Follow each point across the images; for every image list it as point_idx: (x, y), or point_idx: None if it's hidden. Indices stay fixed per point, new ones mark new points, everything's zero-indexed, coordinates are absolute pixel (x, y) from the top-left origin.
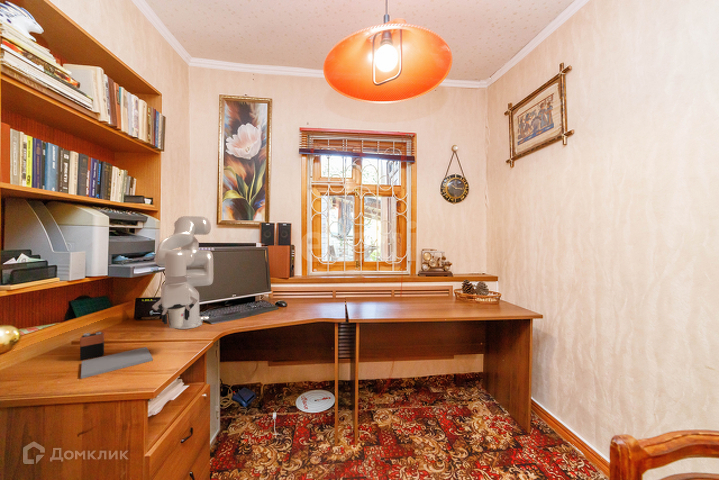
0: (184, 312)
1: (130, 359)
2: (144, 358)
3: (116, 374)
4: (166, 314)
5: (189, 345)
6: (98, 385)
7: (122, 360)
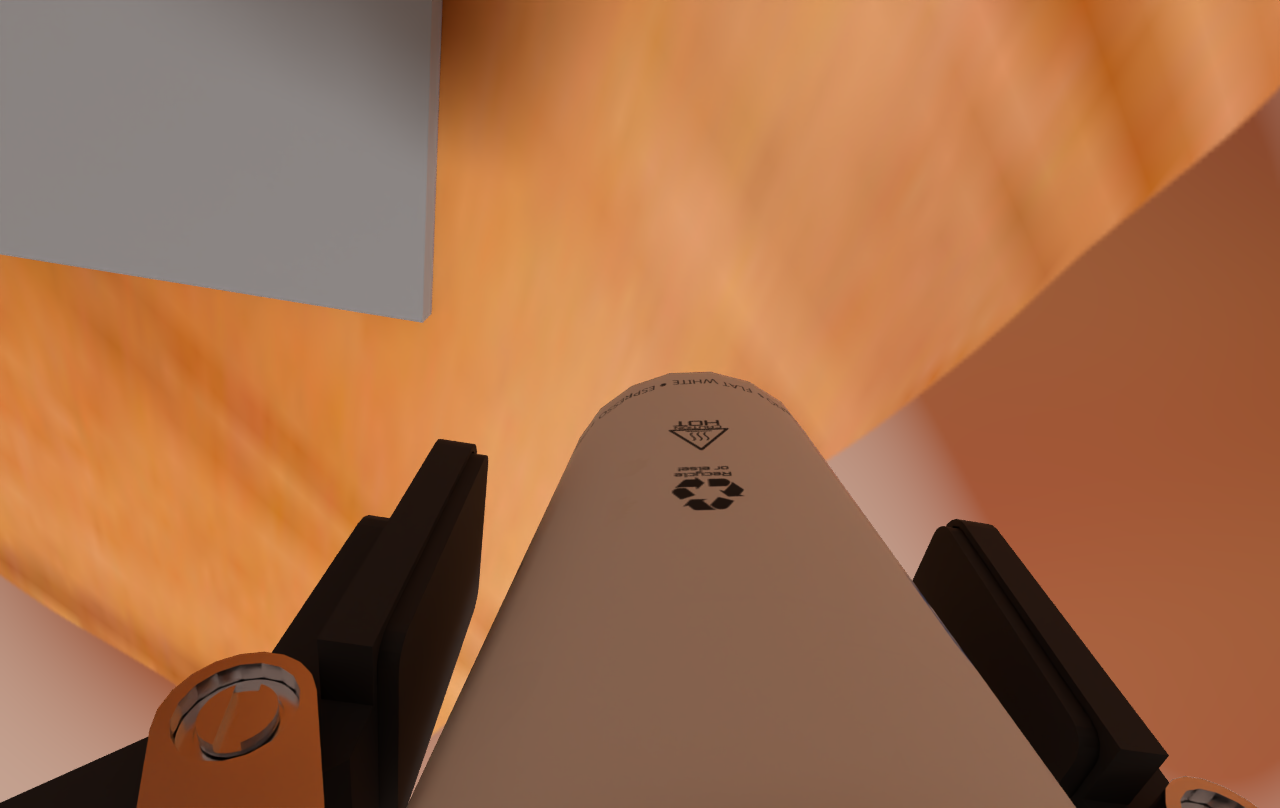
0: (1035, 659)
1: (212, 147)
2: (349, 261)
3: (128, 385)
4: (394, 793)
5: (897, 170)
6: (28, 493)
7: (126, 94)
